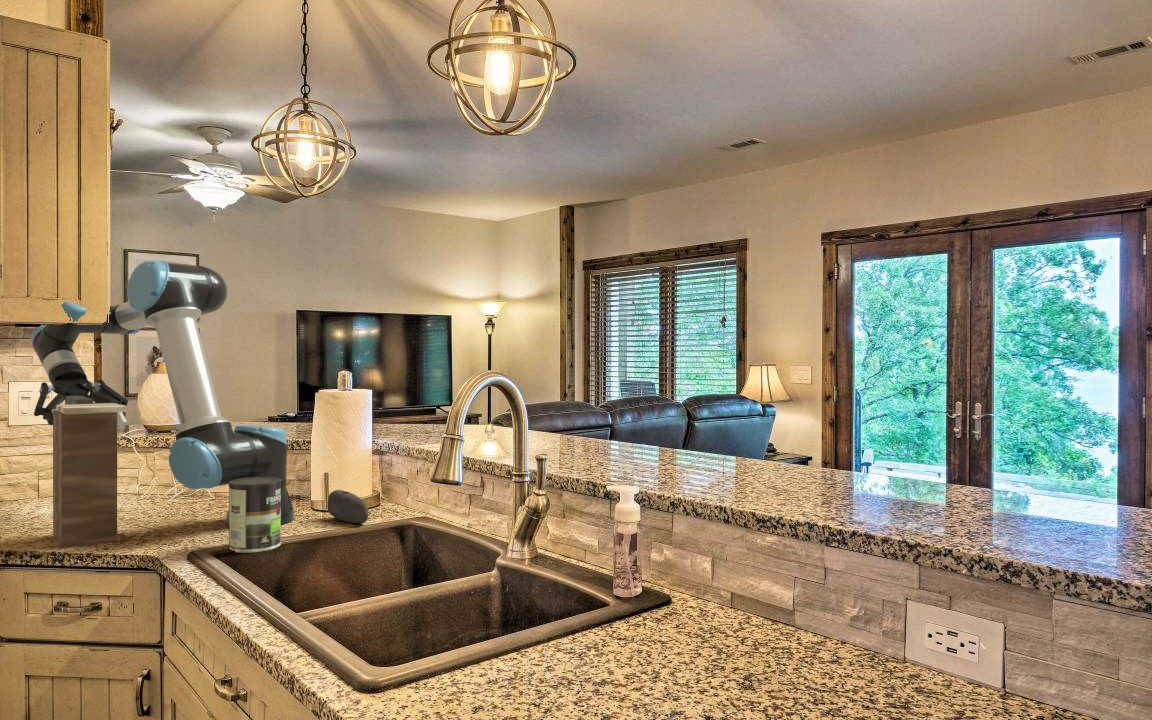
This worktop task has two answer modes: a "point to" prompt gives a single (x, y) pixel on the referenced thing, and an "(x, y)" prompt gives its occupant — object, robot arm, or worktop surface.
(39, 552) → the worktop surface
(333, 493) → the dark grey stone
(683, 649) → the worktop surface
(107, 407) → the lid
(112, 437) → the upright wooden block
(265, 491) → the coffee can
